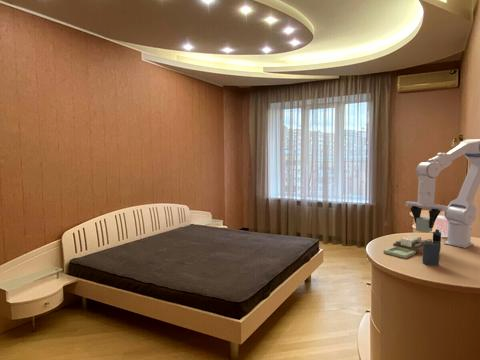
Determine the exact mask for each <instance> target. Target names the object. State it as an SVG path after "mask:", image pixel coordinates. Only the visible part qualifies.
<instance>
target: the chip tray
mask: <svg viewBox="0 0 480 360" xmlns="http://www.w3.org/2000/svg"><path fill="white" fill-rule="evenodd" d="M383 254H385V255H388V256H393V257H396V258H401V259H408V258H410V257H412V256H414V255H417V254H416V251H415V250H410V249H406V248H402V247H397V246H393V245H392V246H391V247H388V248H386V249H383Z"/></svg>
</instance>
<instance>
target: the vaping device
mask: <svg viewBox="0 0 480 360" xmlns="http://www.w3.org/2000/svg"><path fill="white" fill-rule="evenodd" d="M424 240H425V242H424V244H423V252H422V258H421V259H422V260H421V261H422V263H423V264H424V265H426V266H428V265H429V266H439V265H440V253H441V247H442V246H441V245H442V244H441V243H442V242H441V241H442V237H441V232H439V230H438V229H436V228H435V231H432V241H431V240H428V239H424ZM432 242H433V243H432Z"/></svg>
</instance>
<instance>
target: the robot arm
mask: <svg viewBox="0 0 480 360" xmlns="http://www.w3.org/2000/svg"><path fill="white" fill-rule="evenodd" d="M462 156H464V157H465V158H466V159H467V161H469V162H470V163H471V164H470V167H469V168H468V171H467V174H466V176H465V179H464V181H463V183H462V186H461V188H460V191H459V193H458V196H457V197H456V198H455V199H453V200H451V201H450V202H449V204H447V205H442V204H437V203H435V194H436V177H439V175H440V174H441V171H442V170H444V169H446V168H447V167H449V166H452V164H453V161H454V160H456V159H458V158H459V157H462ZM415 173H416V175H417V180H418V188H417V201H408V200H407V201H405V207H411V208H409V209H410V213H412V216H413V219H414V223H415V224H416V218H419V217H421V215H422V214H421V213H422V210H423V209H425V210H428V214H429V215H428V216H429V217H428V218H430V221H429V228H432V229H433V228H434V225H435V224H436V218H437V216H440V213H441V212H443V211H444V216H445V218H446V219H447V222H449V223H448V238H447V239H446V241H444V242H443V244H444V245H450V246H454V247H459V248H463V249H465V248H468V247H470V246H472V245H473V244H474V243H473V242H471V239H472V237H471V236H472V227H471V225H472V223H474V222H475V220H476V215H477V210H478V208H477V207H476V206H475V204H474V203H473V202H474V201H475V198H476V195H477V192H478V190H479V188H480V138H477V139H475V138H474V139H473V138H472V139H468V138H467V139H464V140H463V141H460V142H459V144H458V145H457V146H455V147H453V148H452V149H450V150H449V151H448V152H438V153H437V154H436V156H434V157H432V158H429V159H428V160H427V161H425V162H424V161H422V162H420V163H419V164H418V165H417V167H416V168H415Z"/></svg>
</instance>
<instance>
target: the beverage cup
mask: <svg viewBox="0 0 480 360" xmlns="http://www.w3.org/2000/svg"><path fill="white" fill-rule="evenodd" d="M448 223H449V222H447V219H446V218H445V216H444V211H442V215H438V216H437V218H436V220H435V230H436V229H438V230H439V232H441V238H442V237H448Z"/></svg>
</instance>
